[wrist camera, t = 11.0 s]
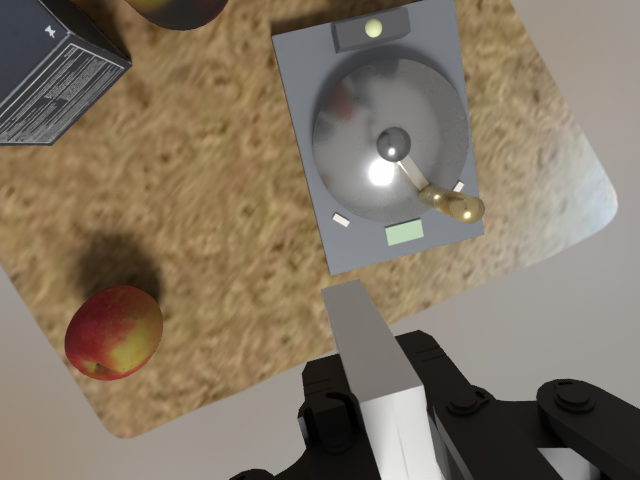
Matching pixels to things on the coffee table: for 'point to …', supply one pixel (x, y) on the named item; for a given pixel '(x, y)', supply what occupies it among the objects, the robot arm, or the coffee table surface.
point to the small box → (51, 69)
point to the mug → (178, 12)
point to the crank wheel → (394, 144)
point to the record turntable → (331, 68)
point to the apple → (114, 333)
